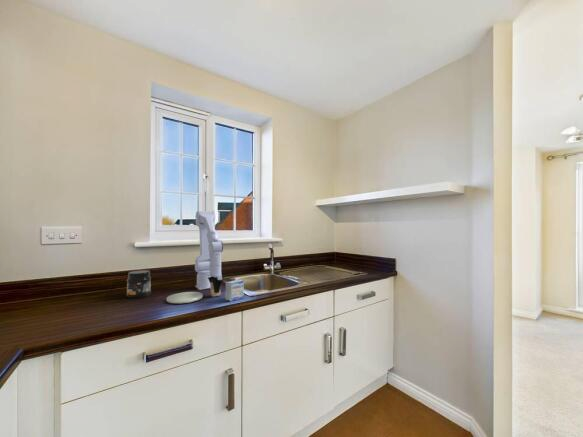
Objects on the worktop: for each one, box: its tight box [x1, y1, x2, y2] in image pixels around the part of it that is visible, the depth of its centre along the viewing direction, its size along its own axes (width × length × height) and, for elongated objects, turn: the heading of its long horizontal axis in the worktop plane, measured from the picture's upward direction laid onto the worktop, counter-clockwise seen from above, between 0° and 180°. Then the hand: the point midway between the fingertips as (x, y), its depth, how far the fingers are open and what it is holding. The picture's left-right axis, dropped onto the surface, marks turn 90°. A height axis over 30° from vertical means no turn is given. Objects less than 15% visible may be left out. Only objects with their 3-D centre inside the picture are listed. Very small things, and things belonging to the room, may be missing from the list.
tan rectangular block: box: [209, 283, 222, 297], centre depth 125 cm, size 4×4×6 cm
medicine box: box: [225, 279, 245, 302], centre depth 119 cm, size 8×4×9 cm, turn 143°
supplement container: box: [126, 269, 152, 299], centre depth 126 cm, size 10×10×12 cm
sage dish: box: [166, 291, 204, 304], centre depth 118 cm, size 16×16×2 cm
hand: (215, 291), depth 125 cm, fingers closed on tan rectangular block, 4 cm apart
